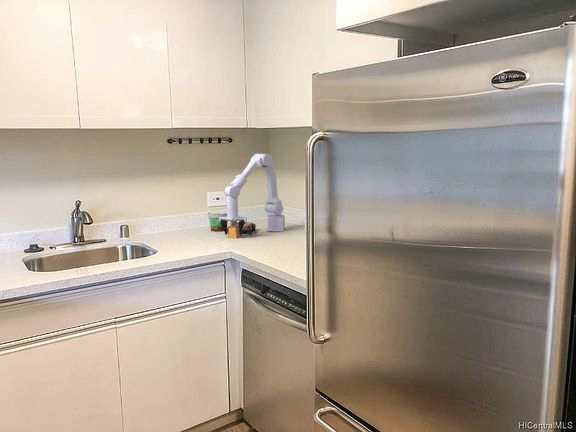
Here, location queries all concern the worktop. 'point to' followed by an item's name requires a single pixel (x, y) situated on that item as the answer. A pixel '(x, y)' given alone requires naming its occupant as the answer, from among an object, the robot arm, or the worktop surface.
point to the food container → (216, 222)
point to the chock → (233, 232)
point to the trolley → (247, 225)
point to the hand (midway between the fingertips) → (233, 234)
